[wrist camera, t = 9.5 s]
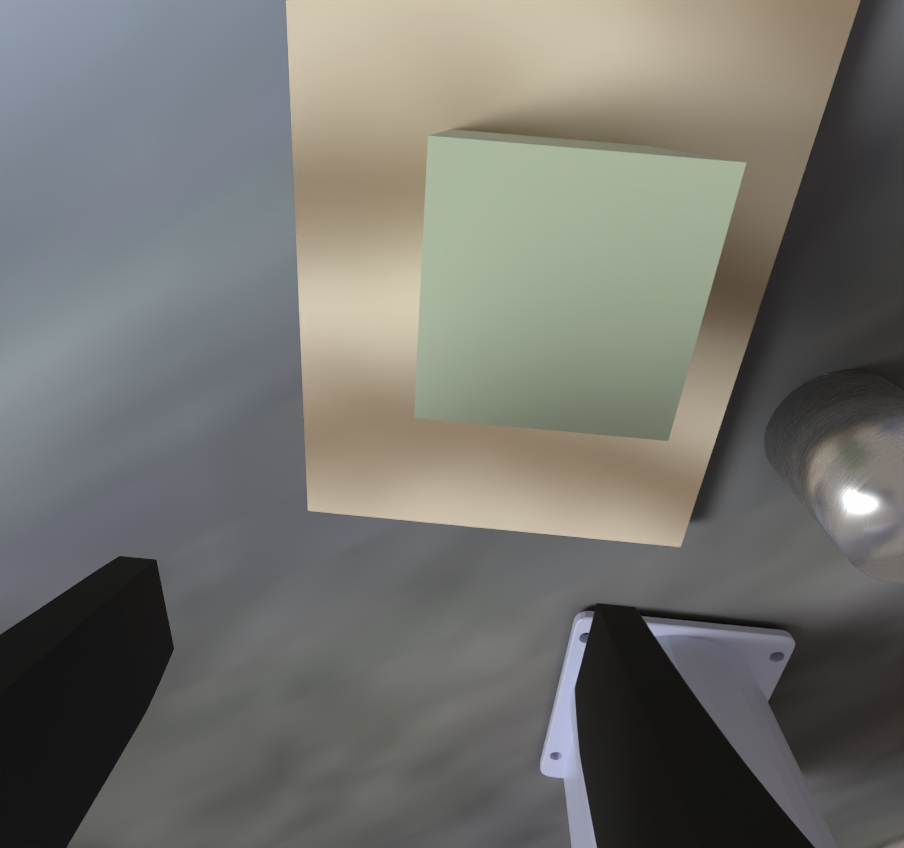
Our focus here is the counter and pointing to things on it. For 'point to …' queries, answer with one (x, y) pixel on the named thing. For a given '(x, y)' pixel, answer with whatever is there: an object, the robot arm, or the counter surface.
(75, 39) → the counter surface
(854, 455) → the metal cylinder
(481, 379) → the sage block
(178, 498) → the counter surface
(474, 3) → the birch board
